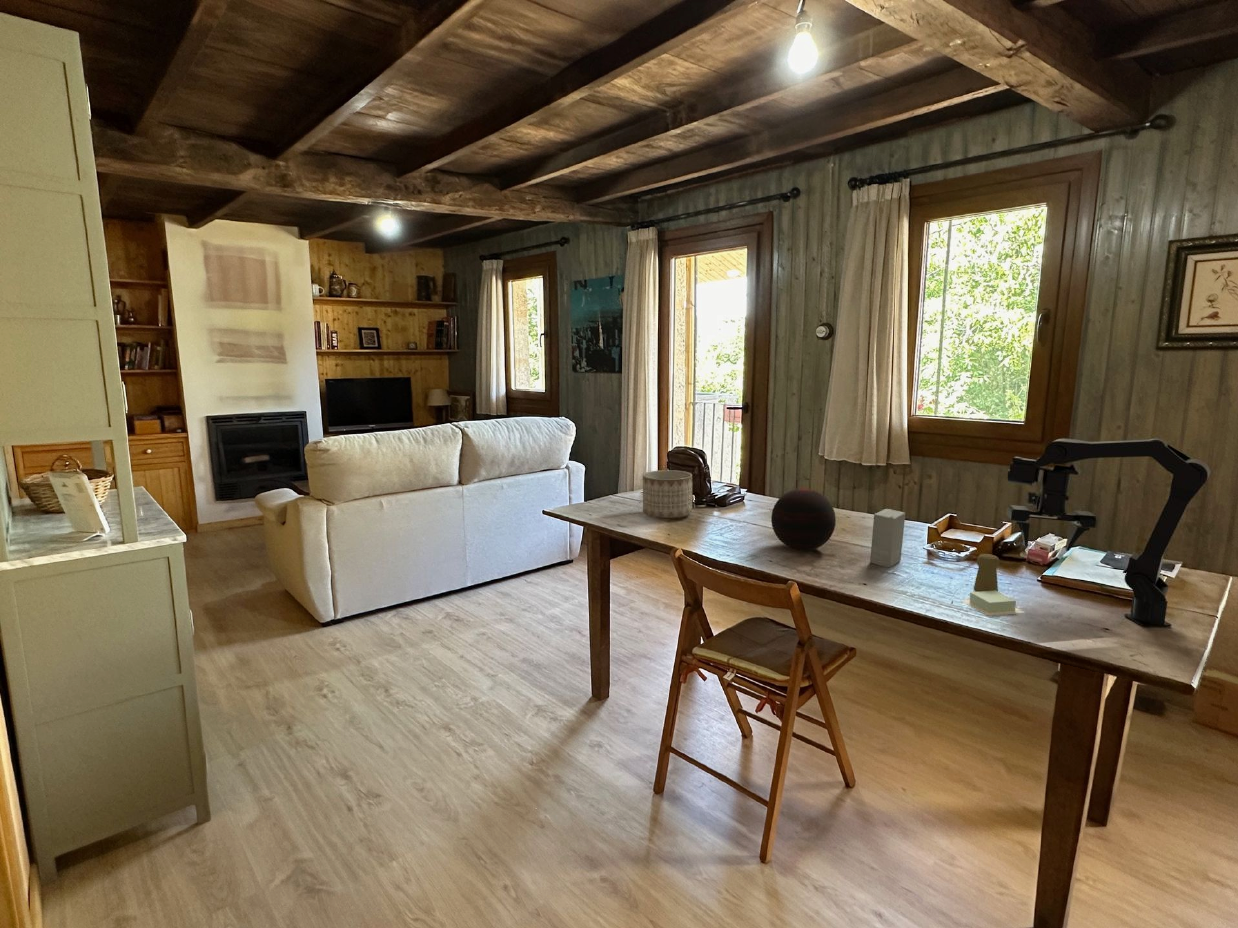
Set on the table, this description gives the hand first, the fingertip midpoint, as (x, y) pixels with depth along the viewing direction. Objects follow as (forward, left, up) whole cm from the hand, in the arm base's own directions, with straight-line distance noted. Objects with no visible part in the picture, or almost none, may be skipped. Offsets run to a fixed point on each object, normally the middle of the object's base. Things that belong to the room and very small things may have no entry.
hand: (1046, 548), depth 169 cm
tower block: (-9, +17, -12) cm, 23 cm away
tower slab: (-9, +17, -13) cm, 23 cm away
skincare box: (+29, +29, -14) cm, 43 cm away
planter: (+88, +93, -14) cm, 129 cm away
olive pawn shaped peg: (+2, +13, -14) cm, 19 cm away
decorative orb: (+43, +51, -14) cm, 68 cm away
